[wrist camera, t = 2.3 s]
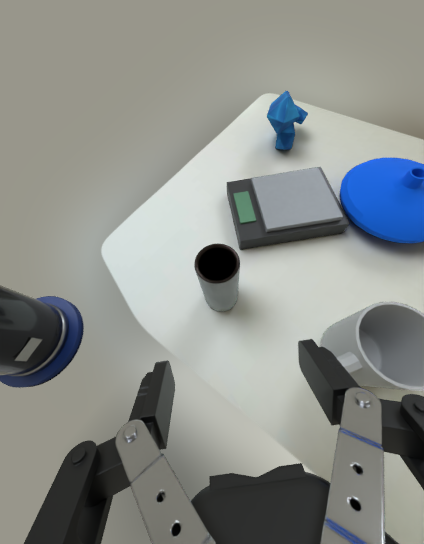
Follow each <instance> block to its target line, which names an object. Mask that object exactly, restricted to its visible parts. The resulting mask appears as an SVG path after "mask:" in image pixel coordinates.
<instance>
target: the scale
mask: <svg viewBox="0 0 424 544" xmlns="http://www.w3.org/2000/svg"><path fill="white" fill-rule="evenodd" d="M227 195H228V200H229V204H230V208H231V213H232V217H233V222H234V226H235V231H236V235H237V239H238V244H239V248H240V250H241V249H247V248H253V247H259V246H265V245H272V244H278V243H284V242H290V241H296V240H302V239H309V238H315V237H321V236H327V235H333V234H340V233H343V232H344V230H345V229H346V228H347V226H348V225H349V224H350V223H349V221H348V219H347V217H346V215H345V213H344V211H343V209H342V207H341V205H340V204H339V202H338V200H337V198H336V196H335V194H334V192H333V190H332V188H331V186H330V184H329V182H328V180H327V178H326V176H325V174H324V172H323V170H322V168H321V167H315V168H309V169H303V170H297V171H291V172H285V173H279V174H273V175H267V176H261V177H255V178H251V179H245V180H239V181H232V182H227Z"/></svg>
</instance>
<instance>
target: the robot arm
mask: <svg viewBox="0 0 424 544" xmlns="http://www.w3.org/2000/svg"><path fill="white" fill-rule="evenodd" d="M68 331H69V324H68V319H67V316H66V314H65V313H64V312H63V311H62V310H61V309H60V308H59V307H57V306H54V305H52V304H49V303H44V302H42V301H39V300H36V299H34V298H32V297H29V296H26V295H23V294H21V293H19V292H16V291H13V290H10V289H8V288H5V287H3V286H0V375H9V376H28V375H32V374H35V373H37V372H39V371H41V370H43V369H44V368H46V367H47V366H48V365H50V364H51V363H52V362H53V361H54V360H55V359H56V358H57V356H58V355H59V354H60V352H61V351H62V349H63V347H64V345H65V343H66V340H67V337H68ZM298 347H299V365H300V368H301V371H302V373H303V375H304V377H305V378H306V380H307V382H308V384H309V385H310V387H311V389H312V391H313V393H314V394H315V396H316V398H317V400H318V402H319V403H320V405H321V407H322V409H323V411H324V412H325V414H326V416H327V418H328V420H329V421H330V423H331V425H338V424H339V425H340V428H339V432H338V438H337V444H336V451H335V457H334V464H333V470H332V477H331V483H329V482H328V481H326V480H325V479H323V478H321V477H319V476H317V475H314V474H311V473H307V472H305V471H304V468H303V466H302V463H300V464H293V465H286V466H279V467H277V468H275V469H273V470H271V471H269V472H267V473H265V474H263V475H261V476H259V477H251V476H245V475H238V474H234V473H230V474H223V475H216V476H210V485H209V486H208V487H206V488H204V489H203V490H201V491H200V492H199V493H198V494H197V495H196V496H195V497H194V498H193V499H192V501H190V499H189V498H188V496H187V494H186V493H185V491H184V489H183V487H182V486H181V484H180V482H179V480H178V478H177V477H176V475H175V473H174V471H173V470H172V468H171V466H170V464H169V463H168V461H167V459H166V457H165V456H164V454H161V452H160V449H166V446H167V439H168V432H169V426H170V418H171V412H172V405H173V398H174V392H175V382H174V377H173V374H172V370H171V366H170V363H169V361H162V362H156V363H155V367H154V370H153V372H149V373H147V374H146V376H145V377H144V378H143V380H142V382H141V385H140V389H139V391H138V395H137V397H136V400H135V403H134V406H133V409H132V413H131V415H130V418H129V421H128V423H126V424H125V425H124V426H123V427H122V428H121V429H120V430H119V431H118V433H117V435H116V437H114V438H112V439H110V440H108V441H106V442H104V443H102V444H100V445H98V446H96V444H95V443H94V442H93V441H85V442H82V443H80V444H78V445H77V446H75V447H74V448H73V449H72V450H71V451H70V452H69V453H68V454H67V456H66V457H65V459H64V461H63V463H62V465H61V467H60V469H59V471H58V473H57V475H56V478H55V480H54V482H53V484H52V486H51V488H50V490H49V492H48V494H47V496H46V498H45V501H44V503H43V505H42V507H41V509H40V511H39V513H38V515H37V517H36V520H35V522H34V524H33V526H32V528H31V530H30V532H29V534H28V536H27V538H26V540H25V542H24V544H101V541H102V537H103V533H104V529H105V525H106V521H107V517H108V513H109V510H110V506H111V502H112V498H113V495H114V494H116V493H118V492H120V491H122V490H123V489H125V488H127V487H129V486H131V489H132V492H133V494H134V497H135V500H136V502H137V505H138V508H139V510H140V513H141V516H142V518H143V521H144V524H145V526H146V529H147V532H148V534H149V537H150V540H151V542H152V544H398V543H397V542H396V541H395V540H394V539H393V538H392V537H391V536H390V535H388V534H387V533H386V532H385V506H384V452H388V453H393V454H398V455H400V456H401V458H402V459H403V461H404V462H405V464H406V465H407V466H408V468H409V469H410V471H411V472H412V474H413V475H414V477H415V478H416V479H417V481H418V482H419V484H420V485H421V487H422V488H423V489H424V397H423V396H420V395H415V394H408V395H405V396H404V397H403V398H402V401H401V402H397V401H389V400H383V399H379V398H377V397H376V396H375V395H374V394H373V393H372V392H370V391H368V390H366V389H363V388H361V387H360V386H359V385H358V384H357V382H356V381H355V380H354V379H353V378H352V376H351V375H350V374H349V373H348V371H347V370H346V369H345V368H344V367H343V366H342V364H341V363H340V362H339V360H337V358H336V357H335V356H334V354H333V353H332V352H331V351H329V350H328V349H326V348H325V347H318V346H317V345H316V343H315V342H314V341H313V340H312V339H309V340H303V341H299V343H298Z"/></svg>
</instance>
